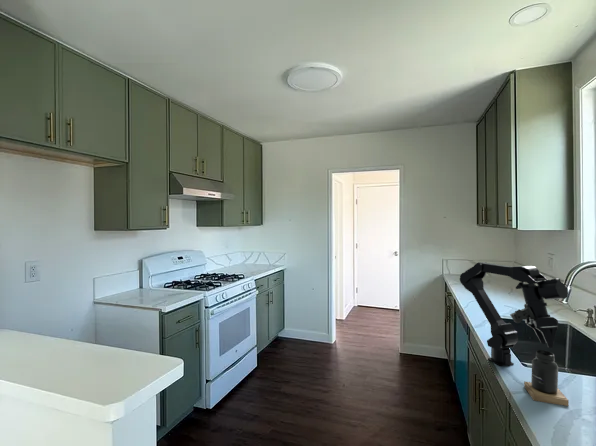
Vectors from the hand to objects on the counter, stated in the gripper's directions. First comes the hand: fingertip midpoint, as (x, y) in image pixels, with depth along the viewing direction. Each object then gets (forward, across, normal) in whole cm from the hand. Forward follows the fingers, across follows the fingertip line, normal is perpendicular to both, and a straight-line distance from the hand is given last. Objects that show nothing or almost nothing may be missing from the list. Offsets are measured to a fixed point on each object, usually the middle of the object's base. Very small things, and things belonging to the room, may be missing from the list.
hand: (546, 345), depth 113 cm
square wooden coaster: (+14, +8, -6) cm, 17 cm away
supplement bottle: (+12, +8, -6) cm, 16 cm away
